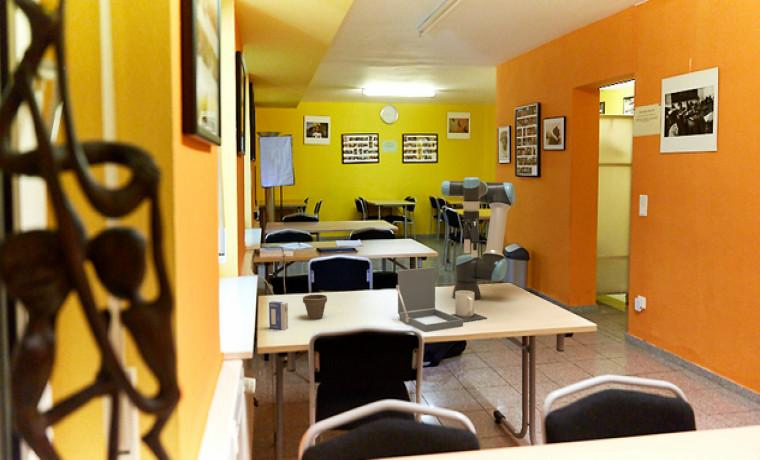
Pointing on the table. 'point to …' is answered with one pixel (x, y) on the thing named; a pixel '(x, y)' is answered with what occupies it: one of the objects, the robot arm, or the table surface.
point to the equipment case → (421, 300)
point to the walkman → (278, 315)
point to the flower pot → (315, 305)
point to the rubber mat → (471, 318)
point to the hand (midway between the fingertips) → (470, 254)
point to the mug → (464, 303)
